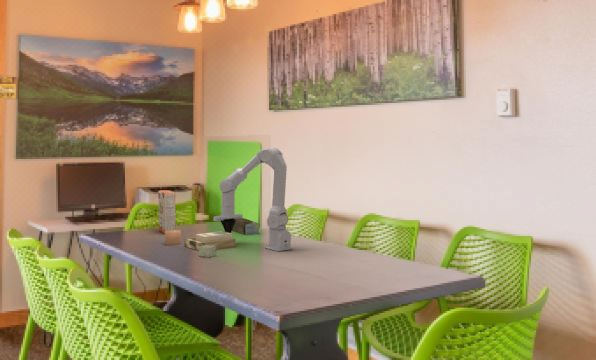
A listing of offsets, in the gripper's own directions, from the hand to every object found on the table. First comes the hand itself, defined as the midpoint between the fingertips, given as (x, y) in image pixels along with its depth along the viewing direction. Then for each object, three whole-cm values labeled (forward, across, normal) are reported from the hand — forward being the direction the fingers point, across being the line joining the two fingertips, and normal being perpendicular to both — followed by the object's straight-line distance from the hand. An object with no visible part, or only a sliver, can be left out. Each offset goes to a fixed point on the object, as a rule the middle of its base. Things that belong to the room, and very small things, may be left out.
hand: (228, 235), depth 261 cm
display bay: (+4, +9, 0) cm, 10 cm away
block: (+4, +19, -16) cm, 25 cm away
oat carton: (+4, +8, +1) cm, 9 cm away
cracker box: (+4, +6, -46) cm, 47 cm away
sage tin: (+4, +21, +16) cm, 27 cm away
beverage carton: (+4, -25, -23) cm, 34 cm away
